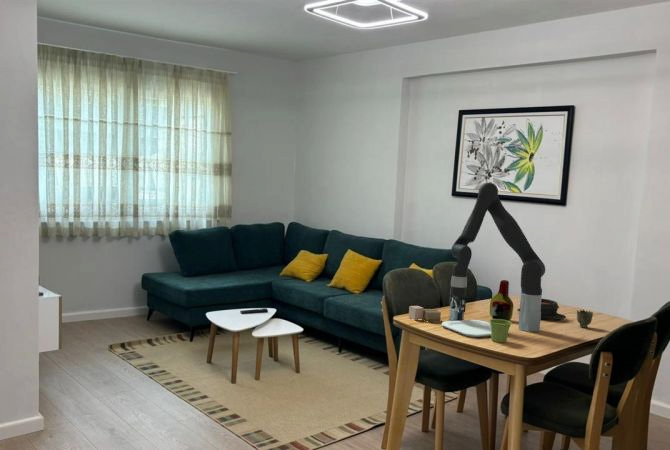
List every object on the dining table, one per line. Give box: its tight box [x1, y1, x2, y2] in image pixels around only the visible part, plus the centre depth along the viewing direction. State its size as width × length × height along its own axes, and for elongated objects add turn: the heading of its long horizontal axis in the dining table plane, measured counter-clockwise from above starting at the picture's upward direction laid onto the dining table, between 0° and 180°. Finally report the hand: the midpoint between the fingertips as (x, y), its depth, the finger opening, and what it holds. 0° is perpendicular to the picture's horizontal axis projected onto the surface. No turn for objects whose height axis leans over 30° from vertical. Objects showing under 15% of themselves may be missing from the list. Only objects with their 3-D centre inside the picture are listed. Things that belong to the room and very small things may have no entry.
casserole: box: [516, 298, 567, 320], centre depth 316 cm, size 25×19×8 cm
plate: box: [441, 319, 492, 338], centre depth 280 cm, size 25×25×2 cm
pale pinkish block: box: [408, 305, 425, 321], centre depth 295 cm, size 5×5×6 cm
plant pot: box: [488, 318, 513, 344], centre depth 262 cm, size 9×9×9 cm
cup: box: [576, 309, 594, 329], centre depth 297 cm, size 8×7×8 cm
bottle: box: [489, 279, 514, 321], centre depth 304 cm, size 12×6×20 cm, turn 46°
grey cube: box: [449, 308, 465, 321], centre depth 295 cm, size 5×5×6 cm
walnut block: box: [423, 308, 442, 323], centre depth 294 cm, size 7×7×5 cm
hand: (456, 318), depth 295 cm, fingers open, 8 cm apart
